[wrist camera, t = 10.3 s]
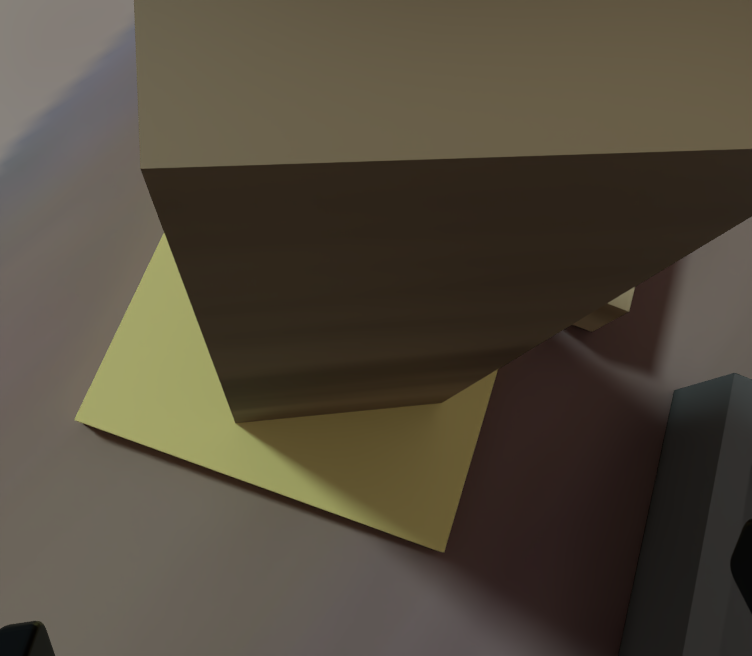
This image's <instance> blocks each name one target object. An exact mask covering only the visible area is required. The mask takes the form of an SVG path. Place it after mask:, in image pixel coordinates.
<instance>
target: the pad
mask: <svg viewBox="0 0 752 656" xmlns="http://www.w3.org/2000/svg"><path fill="white" fill-rule="evenodd" d="M497 371H498V369H497V370H496V371H494V372H492V373H491V374H489V375H487V376H486V377H484V378H482V379H481V380H479V381H477V382H476V383H474V384H472V385H471V386H469V387H467V388H466V389H464V390H462V391H461V392H459V393H457V394H456V395H454V396H452V397H451V398H449V399H447V400H446V401H444V402H443V403H437V404H427V405H416V406H406V407H396V408H386V409H376V410H366V411H355V412H345V413H335V414H325V415H315V416H305V417H295V418H284V419H274V420H264V421H254V422H244V423H235V421H234V418H233V416H232V413H231V410H230V408H229V405H228V402H227V399H226V397H225V394H224V391H223V389H222V386H221V383H220V381H219V378H218V375H217V373H216V370H215V367H214V365H213V362H212V359H211V357H210V354H209V351H208V348H207V346H206V343H205V340H204V338H203V335H202V332H201V330H200V327H199V324H198V322H197V319H196V316H195V314H194V311H193V308H192V306H191V303H190V300H189V298H188V295H187V292H186V289H185V287H184V284H183V281H182V279H181V276H180V273H179V271H178V268H177V265H176V263H175V260H174V257H173V255H172V252H171V249H170V247H169V244H168V241H167V238H166V236H165V233H164V234H163V236H162V238H161V240H160V242H159V244H158V246H157V248H156V251H155V253H154V255H153V257H152V259H151V261H150V263H149V265H148V267H147V269H146V271H145V273H144V276H143V278H142V280H141V282H140V284H139V286H138V288H137V290H136V292H135V294H134V296H133V299H132V301H131V303H130V305H129V307H128V309H127V311H126V313H125V315H124V317H123V319H122V321H121V324H120V326H119V328H118V330H117V332H116V334H115V336H114V338H113V340H112V342H111V344H110V346H109V349H108V351H107V353H106V355H105V357H104V359H103V361H102V363H101V365H100V367H99V369H98V371H97V374H96V376H95V378H94V380H93V382H92V384H91V386H90V388H89V390H88V392H87V394H86V396H85V399H84V401H83V403H82V405H81V407H80V409H79V411H78V413H77V415H76V417H75V419H74V420H76V421H78V422H80V423H83V424H86V425H88V426H91V427H94V428H97V429H99V430H102V431H105V432H108V433H111V434H113V435H116V436H119V437H122V438H124V439H127V440H130V441H133V442H136V443H138V444H141V445H144V446H147V447H150V448H152V449H155V450H158V451H161V452H163V453H166V454H169V455H172V456H175V457H177V458H180V459H183V460H186V461H188V462H191V463H194V464H197V465H200V466H202V467H205V468H208V469H211V470H213V471H216V472H219V473H222V474H225V475H227V476H230V477H233V478H236V479H238V480H241V481H244V482H247V483H250V484H252V485H255V486H258V487H261V488H264V489H266V490H269V491H272V492H275V493H277V494H280V495H283V496H286V497H289V498H291V499H294V500H297V501H300V502H302V503H305V504H308V505H311V506H314V507H316V508H319V509H322V510H325V511H327V512H330V513H333V514H336V515H339V516H341V517H344V518H347V519H350V520H352V521H355V522H358V523H361V524H364V525H366V526H369V527H372V528H375V529H378V530H380V531H383V532H386V533H389V534H391V535H394V536H397V537H400V538H403V539H405V540H408V541H411V542H414V543H416V544H419V545H422V546H425V547H428V548H430V549H433V550H436V551H439V552H443V553H444V551H445V548H446V544H447V541H448V538H449V534H450V531H451V527H452V524H453V521H454V517H455V514H456V510H457V507H458V504H459V500H460V497H461V493H462V490H463V487H464V483H465V480H466V476H467V473H468V470H469V466H470V463H471V459H472V456H473V453H474V449H475V446H476V443H477V439H478V436H479V432H480V429H481V426H482V422H483V419H484V415H485V412H486V409H487V405H488V402H489V398H490V395H491V392H492V388H493V385H494V381H495V378H496V375H497Z"/></svg>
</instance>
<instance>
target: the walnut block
mask: <svg viewBox="0 0 752 656" xmlns="http://www.w3.org/2000/svg"><path fill="white" fill-rule="evenodd" d="M134 13H135V38H136V64H137V90H138V116H139V142H140V168H141V171H142V174H143V177H144V179H145V182H146V185H147V187H148V190H149V193H150V196H151V198H152V201H153V204H154V206H155V209H156V212H157V214H158V217H159V220H160V222H161V225H162V228H163V230H164V233H165V236H166V238H167V241H168V244H169V247H170V249H171V252H172V255H173V257H174V260H175V263H176V265H177V268H178V271H179V273H180V276H181V279H182V281H183V284H184V287H185V289H186V292H187V295H188V298H189V300H190V303H191V306H192V308H193V311H194V314H195V316H196V319H197V322H198V324H199V327H200V330H201V332H202V335H203V338H204V340H205V343H206V346H207V348H208V351H209V354H210V357H211V359H212V362H213V365H214V367H215V370H216V373H217V375H218V378H219V381H220V383H221V386H222V389H223V391H224V394H225V397H226V399H227V402H228V405H229V408H230V410H231V413H232V416H233V418H234V421H235V423H244V422H254V421H264V420H274V419H284V418H295V417H305V416H315V415H325V414H335V413H345V412H355V411H366V410H376V409H386V408H396V407H406V406H416V405H427V404H437V403H443V402H444V401H446V400H447V399H449V398H451V397H452V396H454V395H456V394H457V393H459V392H461V391H462V390H464V389H466V388H467V387H469V386H471V385H472V384H474V383H476V382H477V381H479V380H481V379H482V378H484V377H486V376H487V375H489V374H491V373H492V372H494V371H496V370H497V369H499V368H501V367H502V366H504V365H506V364H507V363H509V362H511V361H512V360H514V359H516V358H517V357H519V356H521V355H522V354H524V353H526V352H527V351H529V350H531V349H532V348H534V347H535V346H537V345H539V344H540V343H542V342H544V341H545V340H547V339H549V338H550V337H552V336H554V335H555V334H557V333H559V332H560V331H562V330H564V329H565V328H567V327H569V326H570V325H572V324H574V323H575V322H577V321H579V320H580V319H582V318H584V317H585V316H587V315H589V314H590V313H592V312H594V311H595V310H597V309H599V308H600V307H602V306H604V305H605V304H607V303H609V302H610V301H612V300H614V299H615V298H617V297H619V296H620V295H622V294H623V293H625V292H627V291H628V290H630V289H632V288H633V287H635V286H637V285H638V284H640V283H642V282H643V281H645V280H647V279H648V278H650V277H652V276H653V275H655V274H657V273H658V272H660V271H662V270H663V269H665V268H667V267H668V266H670V265H672V264H673V263H675V262H677V261H678V260H680V259H682V258H683V257H685V256H687V255H688V254H690V253H692V252H693V251H695V250H697V249H698V248H700V247H702V246H703V245H705V244H707V243H708V242H710V241H711V240H713V239H715V238H716V237H718V236H720V235H721V234H723V233H725V232H726V231H728V230H730V229H731V228H733V227H735V226H736V225H738V224H740V223H741V222H743V221H745V220H746V219H748V218H750V217H751V216H752V0H134Z"/></svg>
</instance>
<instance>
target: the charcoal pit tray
mask: <svg viewBox="0 0 752 656" xmlns="http://www.w3.org/2000/svg"><path fill="white" fill-rule="evenodd" d="M751 518H752V379H749V378H747V377H744V376H741V375H739V374H736V373H732V374H729V375H725V376H722V377H719V378H715V379H712V380H708V381H705V382H701V383H698V384H694V385H691V386H687V387H684V388H681V389H677V390H674V394H673V399H672V404H671V408H670V413H669V418H668V422H667V427H666V432H665V437H664V441H663V446H662V451H661V456H660V460H659V465H658V470H657V475H656V479H655V484H654V489H653V494H652V498H651V503H650V508H649V513H648V517H647V522H646V527H645V532H644V536H643V541H642V546H641V550H640V555H639V560H638V565H637V569H636V574H635V579H634V584H633V588H632V593H631V598H630V603H629V607H628V612H627V617H626V622H625V626H624V631H623V636H622V641H621V645H620V650H619V655H618V656H752V614H751V612H750V610H749V608H748V606H747V604H746V602H745V600H744V598H743V596H742V594H741V593H740V591H739V589H738V587H737V585H736V583H735V581H734V579H733V576H732V573H731V569H730V559H731V556H732V553H733V551H734V548H735V546H736V543H737V541H738V538H739V536H740V534H741V531H742V529H743V526H744V524H745V523H746V522H747V521H748V520H749V519H751Z"/></svg>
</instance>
